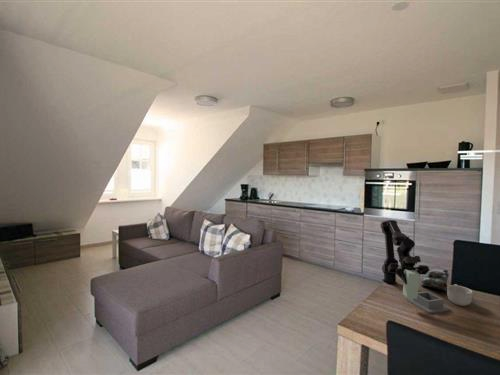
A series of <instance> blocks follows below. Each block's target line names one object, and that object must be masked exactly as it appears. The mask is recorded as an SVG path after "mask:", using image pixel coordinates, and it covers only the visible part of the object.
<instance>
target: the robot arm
mask: <svg viewBox="0 0 500 375" xmlns="http://www.w3.org/2000/svg"><path fill="white" fill-rule="evenodd" d="M380 229H381V232H382V233H383V235H384V240H385V253H386V256H385V259H384V261H383V265H382V266H381V272H382V273H383V278H382V279H381V281H382V282H384V281H385V282H384V283H386V284H387V285H394V284H398V282H397V276H398V277H399V278H400V280H401V281H402V282H403V284H404V283H405V284H406V285H407V280H406V277H405V269H406V270H415V271H416V272H418V273H419V274H420V275H419V278H420V277H421V275H428V274H427V273H429V271H430V268H429V267H430V266H428V265H426V264H423V265H422V264H419V265H418V266H416V265H417V264H418V263H421V257H420V256H419V255H415V256H412V255H411V253H410V252H412V250H413V249H414V247H415V246H416V243H415V242H414V240H413V239H411V238H410V236H407V235H406V234H405V233H403V232H402V231H401V229H400V227H399V225H398V221H397V220H394V219H392V220H391V219H389V220H385V221H382V222H381V223H380ZM395 246H396V253H397V256H398V259H396V257H395ZM399 263H400V265H399ZM396 275H397V276H396Z"/></svg>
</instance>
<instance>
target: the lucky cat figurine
mask: <svg viewBox="0 0 500 375" xmlns="http://www.w3.org/2000/svg"><path fill="white" fill-rule="evenodd" d="M427 273H428V274H426V277H425V278H423V279H422V280H421V283H419V284H420V285H421V287H424V286H425V287H429V288H434V289H437V290H440V291H444V292H446V293H447V286H448V280H449V276H450V274H449V272H448V269H445V270H443V269H440V268H434V269H431V270H429V271H428V272H427Z"/></svg>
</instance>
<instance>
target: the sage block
mask: <svg viewBox="0 0 500 375" xmlns="http://www.w3.org/2000/svg"><path fill="white" fill-rule="evenodd" d="M404 274H405V277H406V280H407V285H406V284H405V283H404V282H403V288H402V294H403V296H405V298H406V299H407V298H414V299H417V296H418V292H419V284H420V277H419V275H420V274H419V273H418V272H416V271H415V270H406V269H405V270H404ZM420 276H421V275H420Z"/></svg>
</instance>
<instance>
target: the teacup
mask: <svg viewBox="0 0 500 375" xmlns="http://www.w3.org/2000/svg"><path fill="white" fill-rule="evenodd" d="M446 294H447V298H448V300H449V301H450V302H451V303H452V304H454V305H456V306H462V307H465V306H468V305H470V304H471V303H472V301H473V290H472V289H470V288H468V287H466V286H463V285H458V284H456V283H455V284H451V285H450V284H448V285H447V291H446Z"/></svg>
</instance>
